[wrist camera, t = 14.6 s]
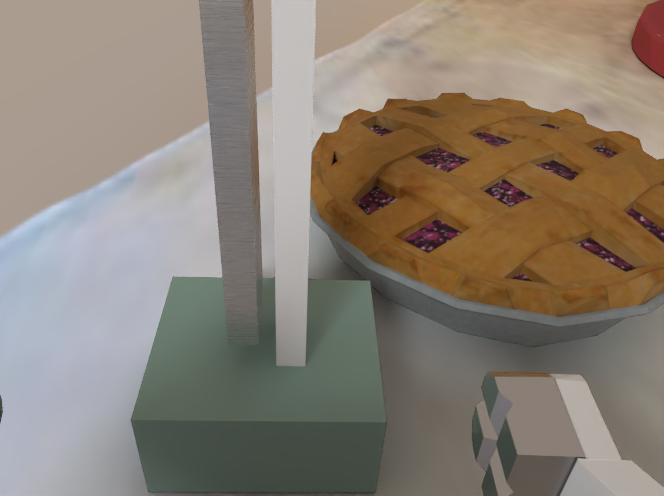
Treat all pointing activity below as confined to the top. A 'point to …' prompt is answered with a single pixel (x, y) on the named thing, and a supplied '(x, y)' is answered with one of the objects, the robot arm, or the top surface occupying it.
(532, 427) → the robot arm
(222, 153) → the tongs arm
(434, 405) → the top surface
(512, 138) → the pie
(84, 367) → the top surface
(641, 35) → the stand mixer
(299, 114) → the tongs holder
